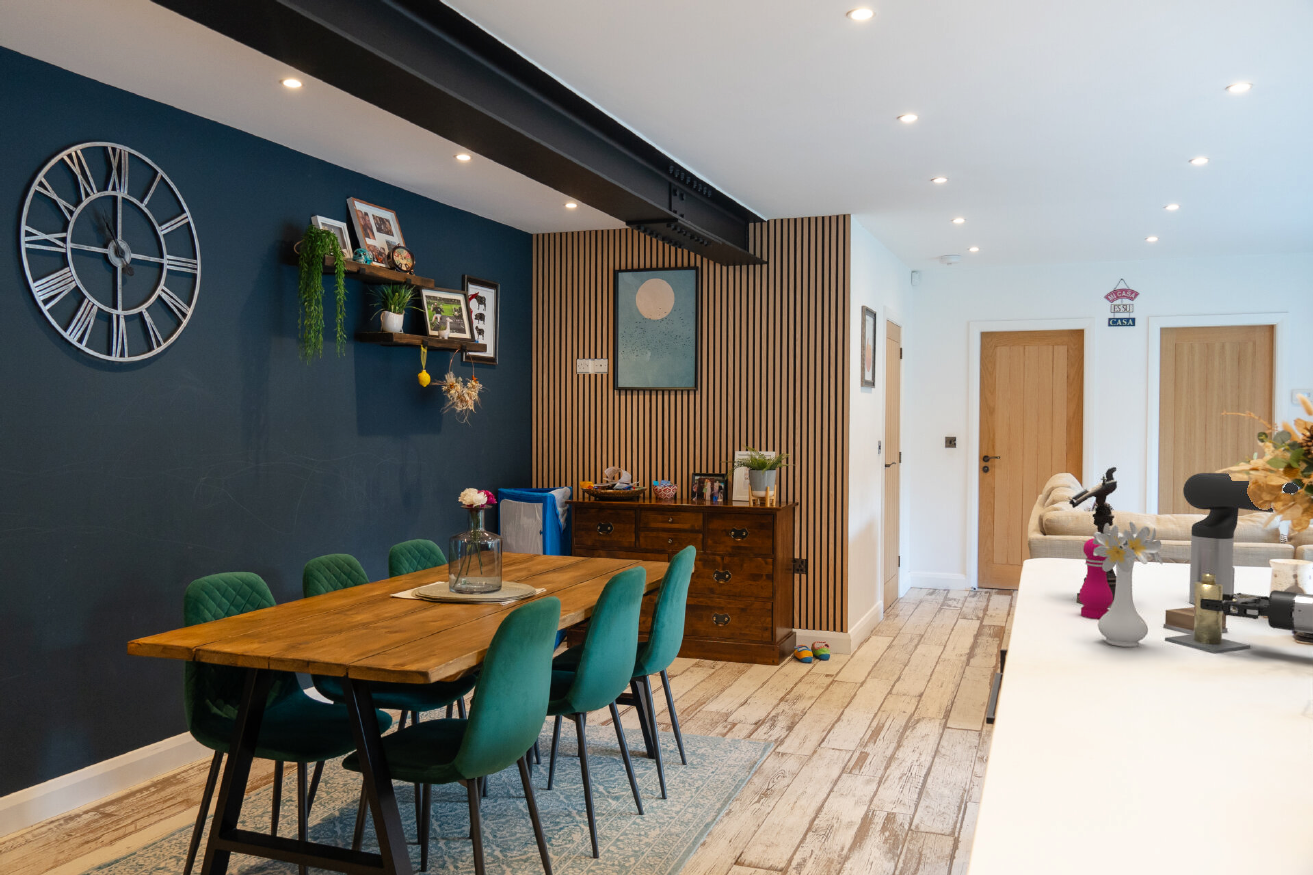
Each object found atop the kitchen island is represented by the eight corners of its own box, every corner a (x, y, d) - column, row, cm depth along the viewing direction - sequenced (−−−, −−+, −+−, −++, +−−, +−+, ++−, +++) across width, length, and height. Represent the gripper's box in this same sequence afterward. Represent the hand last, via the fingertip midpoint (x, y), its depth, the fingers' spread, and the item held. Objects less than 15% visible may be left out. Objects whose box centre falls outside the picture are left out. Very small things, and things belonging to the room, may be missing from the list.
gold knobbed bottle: (1204, 637, 199) (1206, 571, 199) (1227, 642, 194) (1228, 575, 194) (1188, 639, 197) (1189, 573, 197) (1210, 645, 192) (1211, 577, 192)
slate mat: (1200, 635, 203) (1200, 633, 203) (1250, 648, 193) (1250, 645, 193) (1164, 640, 199) (1164, 637, 199) (1214, 653, 188) (1214, 650, 188)
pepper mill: (1105, 613, 225) (1108, 530, 224) (1117, 620, 217) (1119, 534, 217) (1074, 612, 225) (1076, 529, 225) (1084, 619, 218) (1087, 533, 217)
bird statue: (1054, 604, 234) (1058, 464, 233) (1055, 595, 246) (1058, 462, 245) (1128, 610, 228) (1132, 467, 227) (1125, 601, 240) (1129, 464, 239)
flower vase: (1086, 650, 189) (1089, 526, 189) (1092, 631, 206) (1096, 517, 205) (1159, 659, 183) (1163, 531, 182) (1160, 639, 199) (1164, 522, 199)
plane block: (1193, 624, 215) (1194, 606, 214) (1227, 631, 207) (1228, 613, 207) (1163, 627, 211) (1163, 609, 210) (1196, 635, 203) (1197, 617, 203)
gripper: (1304, 588, 190) (1213, 578, 201) (1294, 598, 180) (1198, 586, 190) (1303, 625, 190) (1212, 613, 201) (1292, 637, 180) (1196, 623, 190)
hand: (1205, 600), depth 196 cm, fingers open, 8 cm apart
